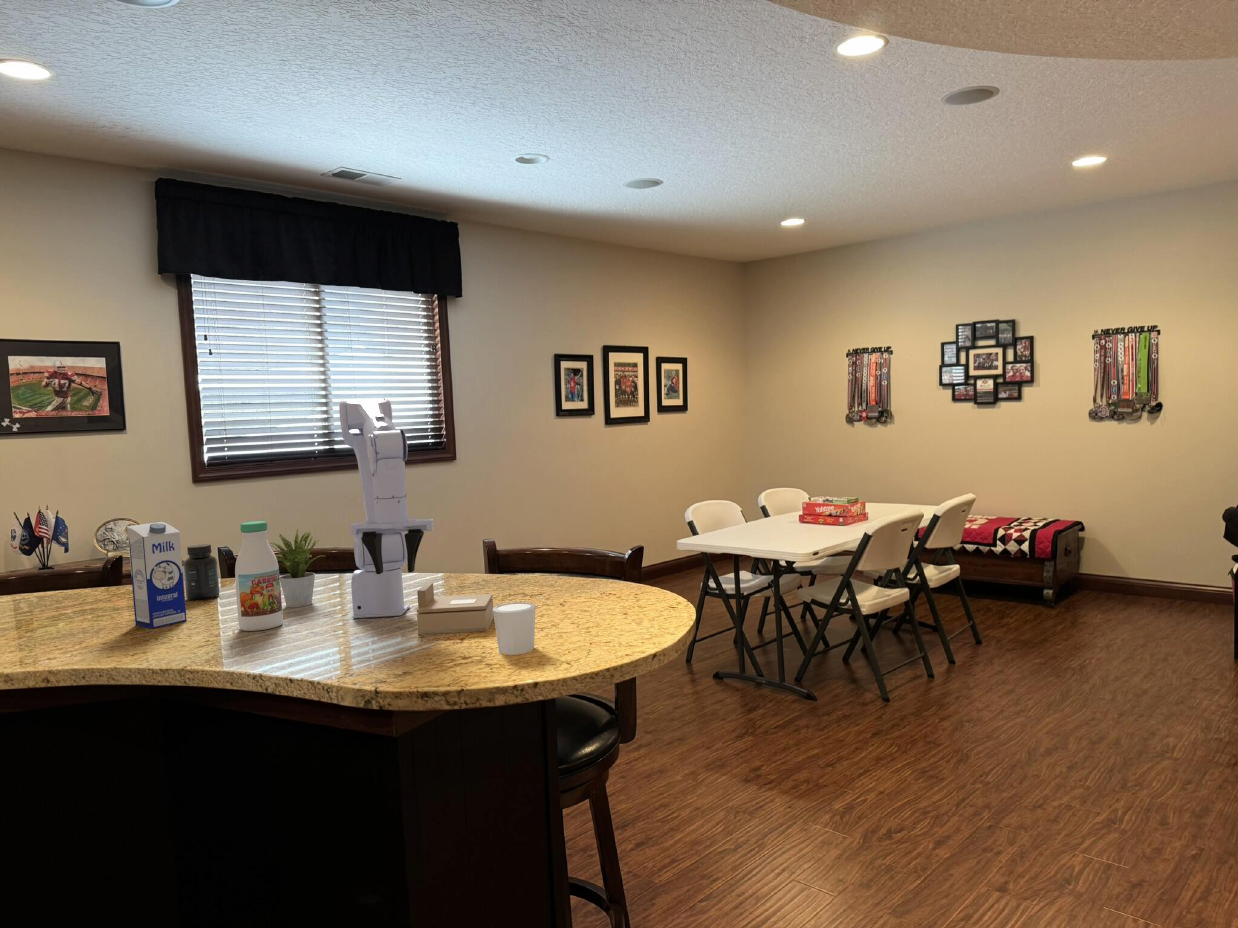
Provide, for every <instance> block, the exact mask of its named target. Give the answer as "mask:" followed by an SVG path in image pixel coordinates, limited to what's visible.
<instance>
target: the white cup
mask: <svg viewBox="0 0 1238 928" xmlns="http://www.w3.org/2000/svg"><path fill="white" fill-rule="evenodd" d="M493 615H494V618H493V621H494V622H493V623H494V627H495V632H496V633H495V635H496V641H497V646H498V647H497V648H498V654H499V653H500V654H501V655H505V656H506V655H507V656H516V655H524V654H528V653H531V652H532V651H534V650H535V636H536V630H535V629H536V626H535V625H536V604H534V603H530V602H511V603H504V604H499V605H497V606H493Z"/></svg>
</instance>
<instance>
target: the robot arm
mask: <svg viewBox="0 0 1238 928" xmlns="http://www.w3.org/2000/svg"><path fill="white" fill-rule="evenodd" d="M338 407H339V410H338V411H339V421H340V428H341V434H342V437H341V438H342V439H343V442H344V444H345V445H347V446H348V447H350V448H352V449H353V452H354V454H355V456H356V461H357V467H358V474H359V480H360V481H359V482H360V487H361V494H362V504H363V509H364V515H365V517H364V518H365V521H363V522H353V523H351V524H350V525H349V526H350V535H351V536H353V542H354V543H353V554H354V560H355V565H356V567H357V568H358V569H356V570H354V571H353V573H352V576H351V580H350V581H351V587H350V589H351V601H352V614H353V615H352V616H351V617H352V618H353V619H363V618H365V619H366V618H379V617H380V618H383V617H397V616H402V615H404V613H405V612H406V611H407V610H408V609H409V608H410V606H411V604H405V600H404V584H403V568H404V564H406V565H407V572H408V573H413V572H414V571H415V567H416V560H417V555H418V551H419V548H420V545H421V542H422V539H423V537H424V534H425V531H426V532H430V531H431V532H432V531H434V530H435V522H434V521H435V520H434V519H433V518H428V519H427V518H424V519H421V518H420V519H413V518H412V519H409V509H408V507H409V506H408V495H407V493H408V492H407V479H406V477H407V476H406V463H405V462H407V459H408V451H409V450H408V440H407V439H408V438H407V435H406V432H405V429H404V428H399V429H396V427H395V425H394V423H393V411H392V403H391V401H390V400H389V398H387V397H384V398H374V399H373V398H371V399H370V398H369V399H347V400H346V399H345V398H344V399H342V400H341V401H340V402H339V406H338Z"/></svg>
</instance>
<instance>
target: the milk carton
mask: <svg viewBox="0 0 1238 928" xmlns="http://www.w3.org/2000/svg"><path fill="white" fill-rule="evenodd" d="M126 529H127V538H128V539H127V541H128V552H129V562H130V563H129V565H130V574H131V576H130V577H131V586H132V589H131V590H132V600H133V609H134V610H133V612H134V624H135V626H136V627H142V628H145V629H146V628H147V629H150V630H153V629H157V628H163V627H165V626H171V625H175V624H179V623H183V622H187V621H188V620H187V610H186V593H185V580H184V568H183V560H182V559H183V558H182V548H181V537H180V536H181V533H180V532H181V531H180V530H178V529H177V528H175V527H173V526H172V525H170V524H169V523H166V522H164V521H160V522H159V521H158V522H157V521H156V522H151V523H150V522H149V523H143V524H142V523H141V524H134V525H127V526H126Z"/></svg>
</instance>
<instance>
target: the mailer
mask: <svg viewBox="0 0 1238 928" xmlns="http://www.w3.org/2000/svg"><path fill="white" fill-rule="evenodd" d="M493 608H494V598H492V599H491V601H490V602H489V604H488V606H487V607H486V609H479V610H461V611H443V612H425V613H417V614H416V622H417V624H416V625H417V635H418V636H421V635H438V634H439V635H440V634H441V635H442V634H456V633H457V634H458V633H460V634H461V633H474V632H475V633H478V632H487V631H488V629H489V628H490V625H491V624H492V622H493V621H494V615H493Z"/></svg>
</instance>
